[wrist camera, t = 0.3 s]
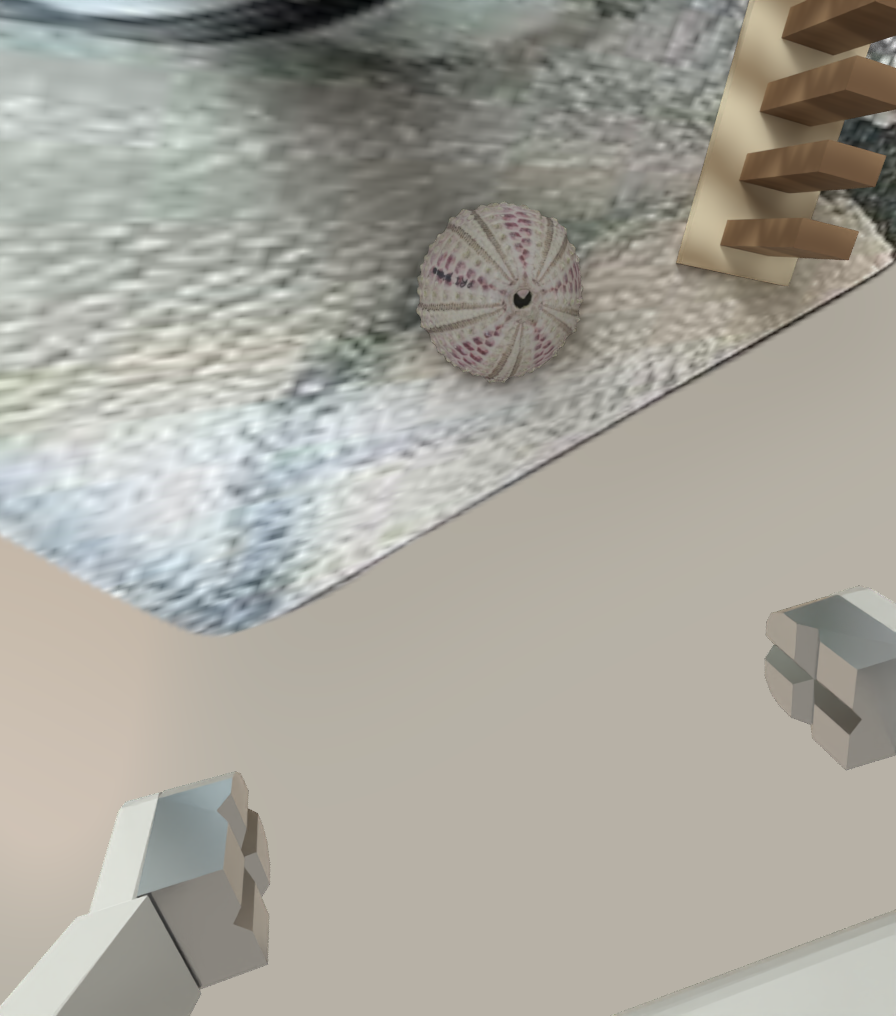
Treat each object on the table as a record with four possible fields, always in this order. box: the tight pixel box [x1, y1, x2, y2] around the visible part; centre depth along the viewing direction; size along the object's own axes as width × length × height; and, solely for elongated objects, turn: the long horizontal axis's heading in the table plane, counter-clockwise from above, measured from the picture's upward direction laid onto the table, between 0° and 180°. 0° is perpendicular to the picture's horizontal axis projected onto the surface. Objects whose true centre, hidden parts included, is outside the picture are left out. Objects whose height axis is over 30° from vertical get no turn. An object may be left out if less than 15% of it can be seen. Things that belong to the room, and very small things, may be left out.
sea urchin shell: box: [416, 201, 583, 383], centre depth 51 cm, size 13×14×8 cm
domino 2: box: [759, 55, 896, 127], centre depth 49 cm, size 2×5×9 cm, turn 80°
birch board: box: [676, 0, 870, 286], centre depth 53 cm, size 27×11×1 cm, turn 170°
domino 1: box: [781, 0, 896, 56], centre depth 47 cm, size 2×5×9 cm, turn 80°
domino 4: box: [720, 218, 859, 260], centre depth 52 cm, size 2×5×9 cm, turn 80°
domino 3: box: [739, 139, 886, 193], centre depth 51 cm, size 2×5×9 cm, turn 80°
